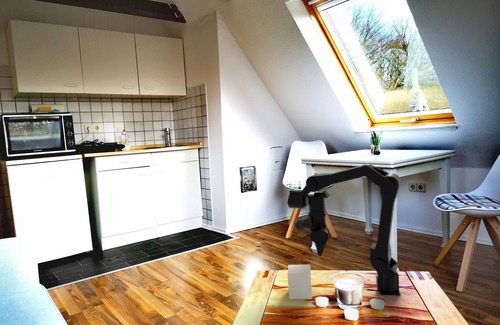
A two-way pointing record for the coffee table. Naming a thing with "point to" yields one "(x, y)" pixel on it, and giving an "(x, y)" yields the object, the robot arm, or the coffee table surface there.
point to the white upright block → (299, 282)
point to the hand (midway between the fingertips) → (319, 251)
